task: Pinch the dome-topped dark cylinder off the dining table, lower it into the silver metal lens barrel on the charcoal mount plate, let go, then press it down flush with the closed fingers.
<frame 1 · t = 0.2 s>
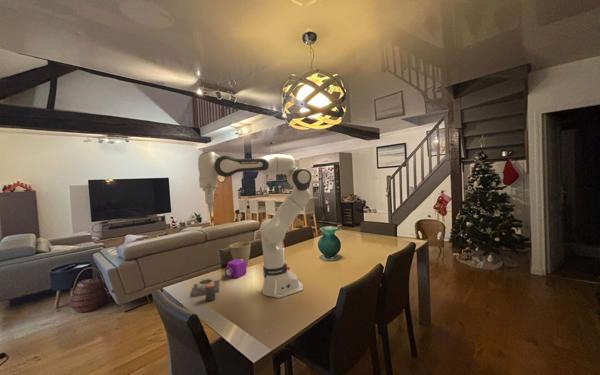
hand: (210, 211, 124), 47 cm above the table, fingers open, 8 cm apart
plant pot: (241, 266, 176), on the table
dome-topped dark cylinder: (210, 299, 129), on the table
toy camera: (235, 276, 158), on the table
lens mount: (206, 289, 141), on the table
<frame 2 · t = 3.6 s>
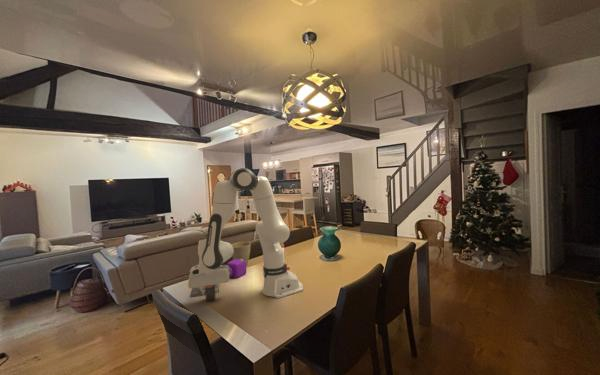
hand: (210, 292, 128), 4 cm above the table, fingers closed on dome-topped dark cylinder, 5 cm apart
dome-topped dark cylinder: (210, 299, 129), on the table, touching gripper
everything else where it was.
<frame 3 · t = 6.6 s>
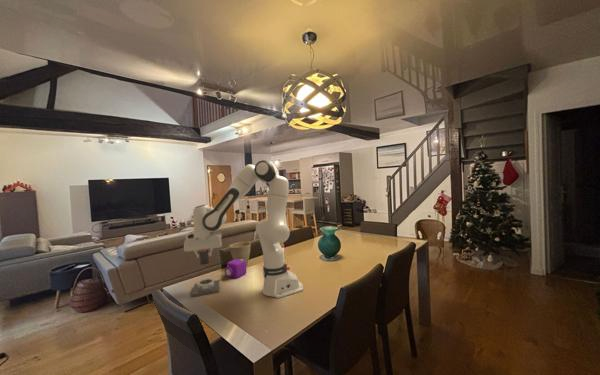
hand: (204, 257, 140), 19 cm above the table, fingers closed on dome-topped dark cylinder, 5 cm apart
dome-topped dark cylinder: (204, 263, 140), point 15 cm above the table, touching gripper
everything else where it was.
when the fingers open (6 cm above the table, at t = 9.4 s): dome-topped dark cylinder stays where it is, resting on lens mount.
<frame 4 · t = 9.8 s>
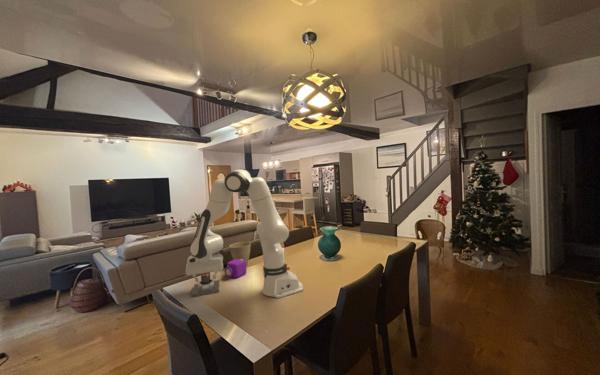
hand: (205, 279, 141), 6 cm above the table, fingers open, 8 cm apart
dome-topped dark cylinder: (206, 286, 141), point 2 cm above the table, touching lens mount
everything else where it was.
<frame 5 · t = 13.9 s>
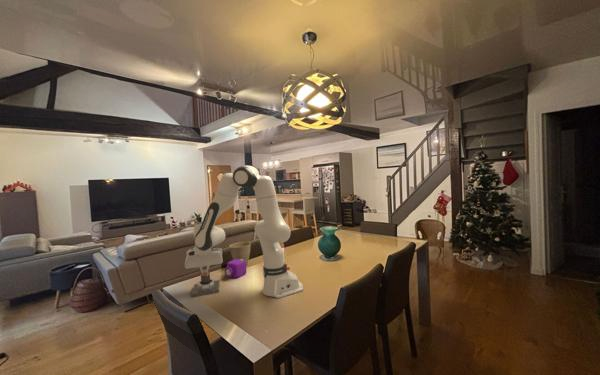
hand: (205, 273, 140), 9 cm above the table, fingers closed, pressing on dome-topped dark cylinder
dome-topped dark cylinder: (206, 286, 141), point 2 cm above the table, touching gripper, lens mount
everything else where it was.
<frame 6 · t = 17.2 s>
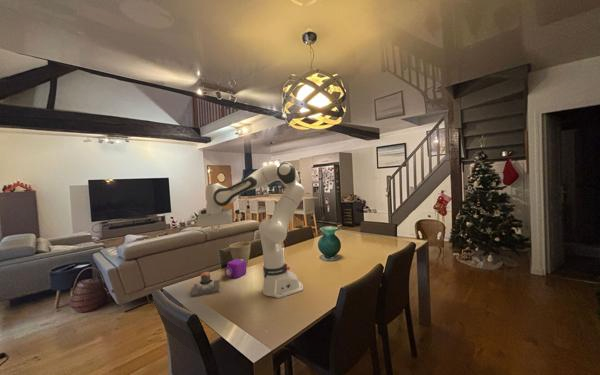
hand: (215, 232, 149), 31 cm above the table, fingers closed
dome-topped dark cylinder: (206, 286, 141), point 1 cm above the table, touching lens mount
everything else where it was.
at the end: dome-topped dark cylinder 0.1 cm off-centre on the lens mount, point 1.5 cm above the lens mount's base; dome-topped dark cylinder tilted 0°; the gripper is holding nothing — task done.
